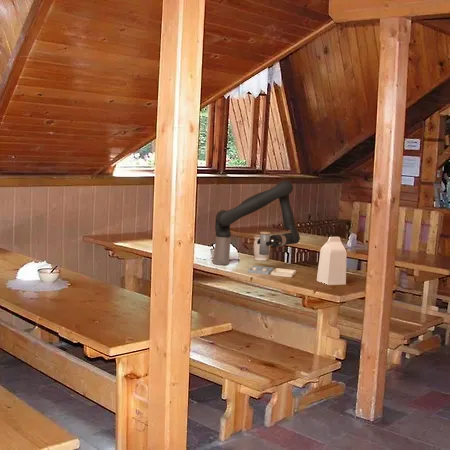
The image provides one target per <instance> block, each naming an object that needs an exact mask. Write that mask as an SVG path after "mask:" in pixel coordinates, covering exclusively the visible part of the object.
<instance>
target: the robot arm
mask: <svg viewBox="0 0 450 450" xmlns="http://www.w3.org/2000/svg"><path fill="white" fill-rule="evenodd" d="M293 189H294V185H293V183H291V181H288V180H283V181H279V182H278V183H277V184H276V185H274V186H273V187H272V188H270V189H267V190H265V191H261V192H258V193H256V194H254V195H252V196H249V197H247V198H246V199H245V200H244V201H242V202H240V203H239V205H237V206H235V207H233V208H231V209H228V210H225V209H222V210H219V211H218V212H217V213H216V215H215V225H214V226H215V227H214V229H215V230H214V231H215V244H214V248H213V261H212V264H213V265H218V266H229V265H230V256H231V255H230V254H231V253H230V251H231V236H232V235H231V234H232V232H231V225H232V224H234V223H235V222H236V221H238V220H240V219H241V218H243V217H246V216H247V215H248V216H249V215H250V214H252V213H255V212H257V211H258V210H260V209H263V208H264V207H266V206H268V205H269V204H271V203H272V202H274V201H276V200H278V202H279V205H280V210H281V215H282V222H283V223H282V224H283V228H284V229H285V230H289V231H290V232H286V233H281V234H280V233H279V234H278V233H277V234H272V235H270V241H269V242H266V246H269V245H270V248H278V247H279V248H280V247H282V246H286V245H294V244H298V243H299V242H300V240H301V237H300V232H299V231H298V229H297V227H296V226H297V225H296V223H295V222H296V221H295V216H294V212H293V209H292V206H291V203H290V202H291V201H290V194H292V192H293ZM257 244H260V239H259V240H258V241H257Z"/></svg>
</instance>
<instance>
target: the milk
mask: <svg viewBox="0 0 450 450" xmlns="http://www.w3.org/2000/svg"><path fill="white" fill-rule="evenodd" d="M347 255H348V254H347V250H346V248H345V246H344V245H343V242H342V240H341V237H340V236H329V238H328V240H327V241H326V242H325V243H324V244H323V245H322V247H321V248H320V250H319V257H318V260H319V261H318V267H317V275H316V281H317V282H319V283H321V282H322V283H321V284H324V283H325V284H324V285H326V284H327V285H326V286H334V285H335V286H336V285H337V286H339V285H347Z"/></svg>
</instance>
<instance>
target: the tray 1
mask: <svg viewBox="0 0 450 450" xmlns="http://www.w3.org/2000/svg"><path fill="white" fill-rule="evenodd" d="M253 267H256V268H257V270H252V268H253ZM263 268H266V269H267V272H266V271H262V269H263ZM273 270H275V268H274V267H271V266H270V267H269V266H260V265H253V266H252V267H250V268H248V273H250V274H259V275H267V276H268V275H271V272H272V271H273Z"/></svg>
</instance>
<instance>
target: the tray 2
mask: <svg viewBox="0 0 450 450" xmlns="http://www.w3.org/2000/svg"><path fill="white" fill-rule="evenodd" d="M296 274H297V270H296V269H291V268H289V269H287V268H279V267H278V268H277V267H276V268H274V270H273V271H272V272H271V273H270V276H276V277H285V278H286V277H287V278H292V277H293V276H294V275H296Z"/></svg>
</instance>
